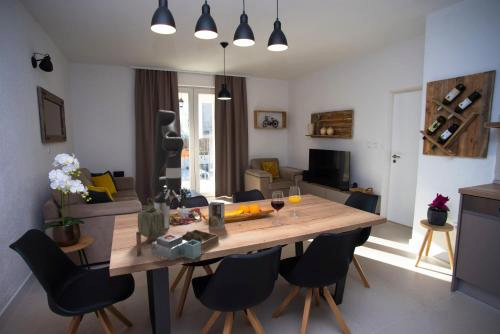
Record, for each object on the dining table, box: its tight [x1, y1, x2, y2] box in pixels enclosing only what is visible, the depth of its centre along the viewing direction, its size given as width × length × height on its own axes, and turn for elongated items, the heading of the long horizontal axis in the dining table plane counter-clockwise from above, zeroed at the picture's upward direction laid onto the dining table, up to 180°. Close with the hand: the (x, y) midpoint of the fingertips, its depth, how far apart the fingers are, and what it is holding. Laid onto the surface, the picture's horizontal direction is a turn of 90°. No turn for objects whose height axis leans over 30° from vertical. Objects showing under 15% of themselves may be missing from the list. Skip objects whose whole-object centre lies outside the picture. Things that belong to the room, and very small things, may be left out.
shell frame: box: [180, 229, 220, 252], centre depth 152 cm, size 17×16×4 cm
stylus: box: [135, 231, 143, 257], centre depth 137 cm, size 2×2×12 cm
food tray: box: [169, 205, 203, 226], centre depth 195 cm, size 25×24×9 cm
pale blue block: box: [151, 232, 188, 262], centre depth 139 cm, size 14×11×8 cm
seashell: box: [185, 231, 203, 243], centre depth 151 cm, size 11×12×10 cm
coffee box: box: [207, 201, 226, 230], centre depth 179 cm, size 9×6×16 cm
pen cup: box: [184, 240, 202, 260], centre depth 137 cm, size 6×6×7 cm
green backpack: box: [137, 197, 166, 243], centre depth 154 cm, size 14×9×25 cm, turn 48°
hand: (174, 207), depth 142 cm, fingers open, 8 cm apart
